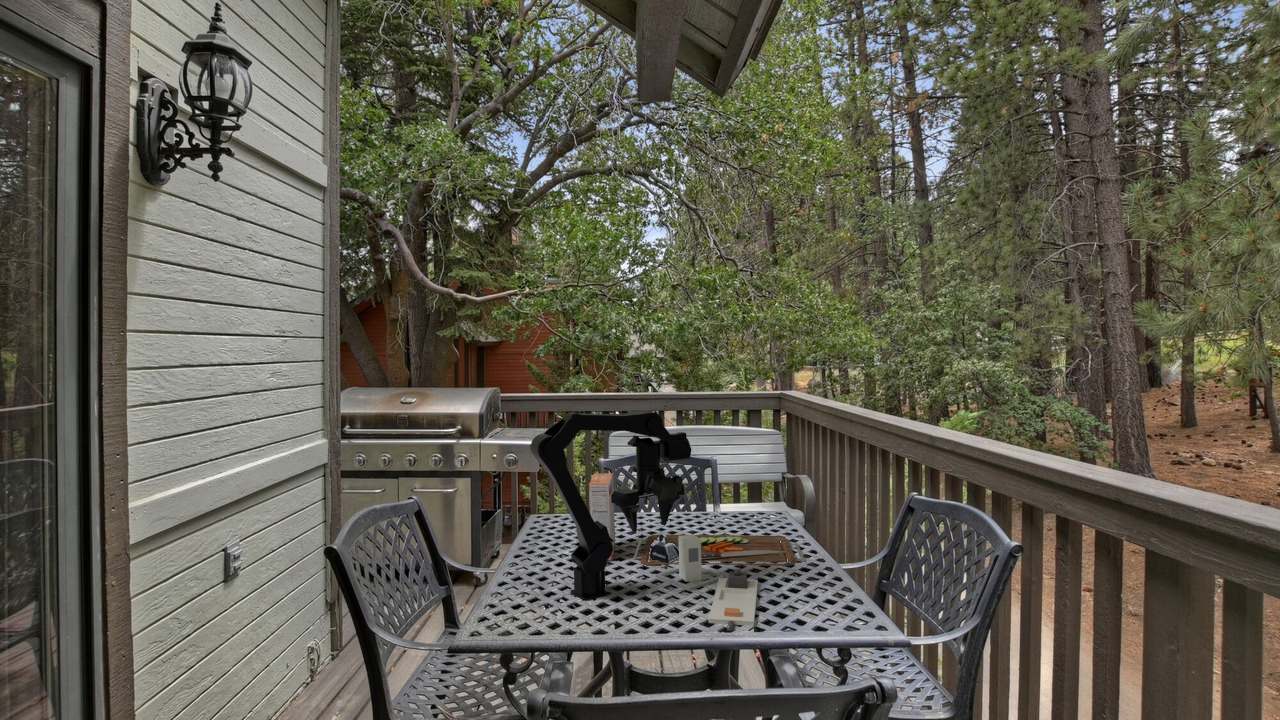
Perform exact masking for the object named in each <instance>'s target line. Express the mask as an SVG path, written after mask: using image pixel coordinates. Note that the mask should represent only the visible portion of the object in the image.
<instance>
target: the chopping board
mask: <svg viewBox="0 0 1280 720" xmlns="http://www.w3.org/2000/svg"><path fill="white" fill-rule="evenodd" d="M660 535H661V534H652V535H649V536H648V537H647V538H646V541H645V542H643V541H642V540H638V543H637V547H636V549H635V552H634V554H633V558H632V561H636V560H640V564H641V565H642V564H643V565H646V566H645V567H647V566H661V567H662V565H679V558H678V559H677V560H675V561H674V562H668V563H666V562H665V561H664V562H658V560H652V559H651V560H650V562H648V559H649V552H650V547H651V544H652V543H653V542H654V540H655V539H656V540H657V538H658V536H660ZM665 535H666V536H667V540H668V542H669V543H673V544H675V545H676V546H677V547H678V549H679V536H683V535H684V534H665ZM694 535H695V536H697V537H698V538H700V539H701V566H702V565H707V566H708V565H709V566H711V565H713V566H714V565H715V566H717V565H718V566H720V565H721V566H766V567H767V566H773V567H774V566H778V567H779V566H780V567H781V566H782V567H789V566H793V565H796V564H797V563H798V562H802V563H803V562H806V558H805V557H804V555H803V552H802V550H801V548H800V546H799V544H798V542H794V543H790V542H789V540H788V538H786V537H784V536H781V535H751V534H750V535H749V534H748V535H746V534H745V535H743V534H742V535H740V534H739V535H738V534H737V535H735V534H734V535H733V534H732V535H731V534H725V535H724V534H694ZM780 541H781V543H780ZM641 545H644V548H643V551H642V555H641V556H638V554H639V551H640V549H639V548H641ZM790 545H795V546H794V547H795V549H796V550H797V552H798V555H799V557H800V559H799V558H798V559H797V558H796V557H795V555H794V551H793V550H792V548H791V547H792V546H790ZM787 559H788V562H787ZM715 562H716V563H715ZM717 562H718V563H717ZM719 562H721V563H719ZM726 562H729V563H726ZM731 562H734V563H731ZM740 562H741V563H740ZM806 563H807V562H806ZM643 565H642V566H643Z"/></svg>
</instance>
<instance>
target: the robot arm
mask: <svg viewBox="0 0 1280 720" xmlns="http://www.w3.org/2000/svg"><path fill="white" fill-rule="evenodd" d="M580 431H604V432H605V431H607V432H609V431H610V432H612V431H613V432H629V433H633V434H635V435H633V436H632V438H630V440H628V441H627V446H630V447H633V448H634V447H635V462H636V466H634V467H633V468H632V472H633V473H636V483H635V484H633V488H632V489H634V490H631V489H627V488H622V489H616V490H614V491H613V493H612V495H611V503H614V505H615V506H616V507H619V509H620V511H621V512H622V514H623V515H624V517H625V519H626V521H627V523H628V526H629V527H630V529H631V532H632V533H634V534H636V533H637V530H638V510H639V508H641V505H639V502H640V499H645V498H649V497H654V496H656V497H657V502H658V510H659V511H658V512H659V516H660V517H659V518H660V522H661V525H662V526H667V523H668V520H669V517H670V515H671V514H670V513H671V512H672V511H671V510H672V508H673V506H674V504H675V503H676V502H677V501H678V500H680V499H681V498H682V496H684V495H685V494H686V493H685V490H686V488H685V486H684V484H683V477H682V476H680V475H679V474H677V475H673V476H666V474H665V472H666V470H665V469H664V468H665V467H661V459H662V460H663V462H665V463H669V462H679V461H688V460H689V459H690V458H691V455H692V447H691V443H690V441H689V439H688V437H687V433H686V432H683V431H678V432H675V433H670V432H669V430H668V429H667V428H666V427H665V425H664V422H663V418H662V416H661V415H660V414H659V413H657V412H654V411H648V410H644V409H643V410H637V411H630V412H627V413H622V414H614V413H613V414H611V413H610V414H608V413H577V412H572V411H570V412H567V413H566V414H565V415H564V416H563V417H562V418H561V419H559V421H557V422H556V423H554V424H553V425H551V426H550V427H549V428H547V429H546V430H545V431H544V432H543V433H540V434H537V435H536V436H535V437H533V439H532V440H531V443H530V446H529V449H530V452H531V454H532V456H533V457H534V458H535V460H537V462H538V463H539V464H540V466H541V467H542V468H543V469H544V470H545V471H546V472H547V473H548V474H549V476H550V478H551V480H552V482H553V484H554V486H555V488H556V490H557V492H558V494H559V496H560V498H561V501H563V503H564V506H565V508H566V510H567V511H568V514H569V515H570V517H571V519H572V522H573V523H574V525H575V528H576V537H577V540H578V543H579V545H578V546H577V547H576V548H575V549H574V550H573V552H571V554H570V558H571V561H572V562H573V564H575V565H576V567H573V589H571V590H570V593H571V594H573V595H574V596H576V597H578V598H580V599H582V600H584V601H588V600H591V599H594V598H598V597H600V596H601V597H602V596H604V595H607V594H609V590H607V589H606V571H605V570H606V567H607V564H608V562H609V561H608V559H609V558H610V556H611V555H612V551H613V545H612V543H611V542H613V541H614V540H613V539H611V537H610V536H609V533H608V530H607V527H606V526H605V525H603V524H602V523H600V522H599V521H595V522H594V521H593V519H592V517H591V515H590V510H589V509H588V507H587V505H586V502H585V501H584V499H583V497H582V495H581V493H580V491H579V488H578V486H577V485H576V483H575V481H574V478H573V477H572V474H571V473H570V471H569V468H568V461H567V455H566V451H565V449H566V448H568V446H569V445H570V444H571V443H572V440H574V439H575V437H576V435H577V434H579V432H580ZM636 434H637V435H636ZM638 435H642V436H646V437H640V436H638ZM652 438H655V439H658V440H653V439H652ZM597 596H598V597H597Z"/></svg>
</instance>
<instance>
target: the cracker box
mask: <svg viewBox="0 0 1280 720" xmlns="http://www.w3.org/2000/svg"><path fill="white" fill-rule="evenodd" d="M614 483H615V482H614V473H611V472H608V473H606V472H605V473H603V472H602V473H601V472H600V473H593V475H592V478H591V480H590V481H589V483H588V490H589V491H588V492H589V493H588V496H589V497H588V498H589V513H590V515H591V517H592V519H593V521H594V522H595V521H599V522H600V523H602V524H603V525H605V526H606V527H607V530H608V533H609V536H610V537H611V539H613V540H614V541H613V542H611V543H612V545H613V551H612V555H611V556H610V558H609V559H608V561H607V562H611V561H613V557H614V553H615V547H616V530H615V528H616V527H615V526H616V525H615V522H616V521H615V518H616V517H615V504H614V503H611V495H612V493H613V491H615V490H614V489H615V488H614V487H615V486H614V485H615V484H614Z"/></svg>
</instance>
